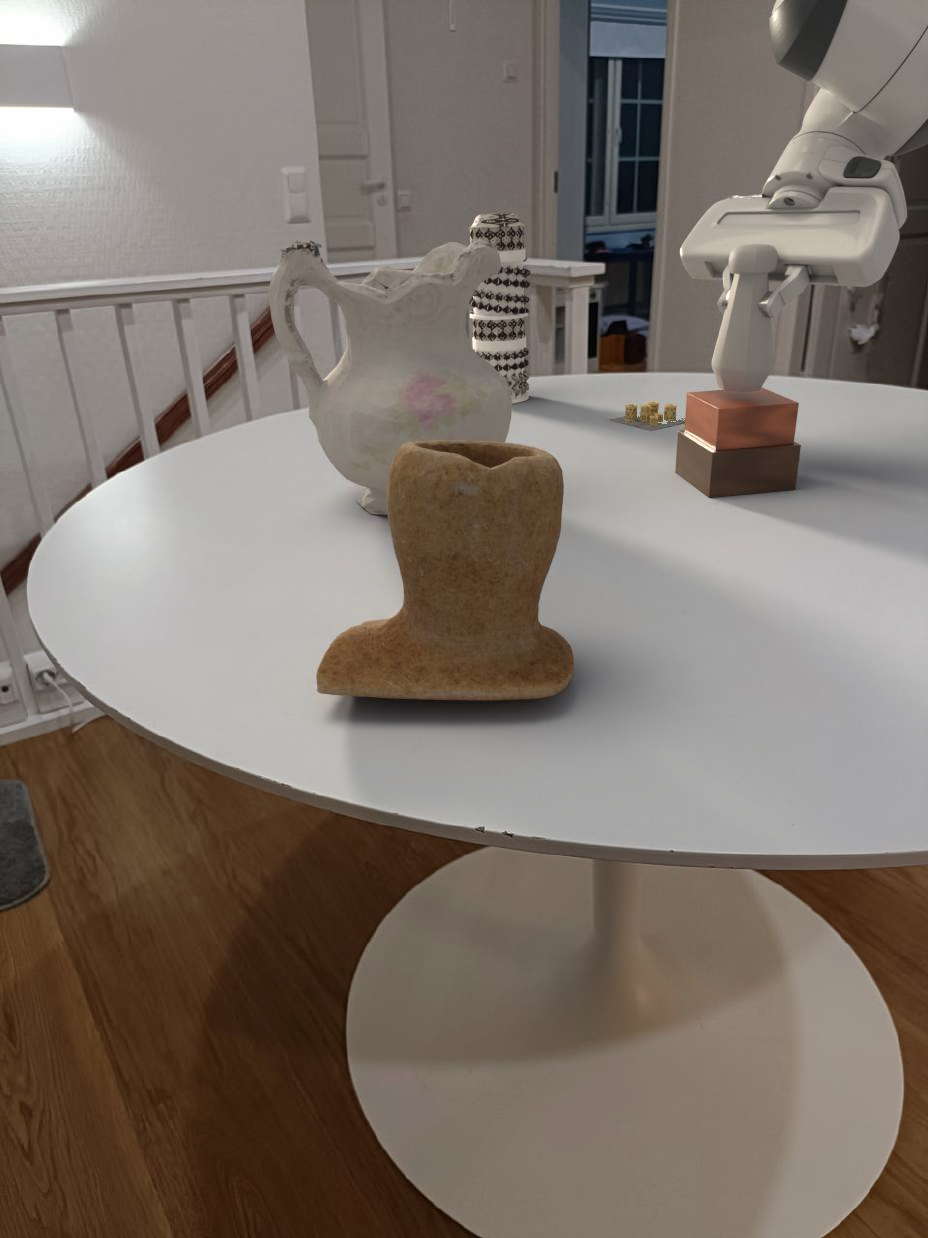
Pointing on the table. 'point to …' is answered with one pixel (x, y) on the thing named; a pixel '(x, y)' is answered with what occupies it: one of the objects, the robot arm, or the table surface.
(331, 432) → the ceramic pitcher
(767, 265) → the salt shaker
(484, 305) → the white patterned cylinder
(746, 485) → the block stack
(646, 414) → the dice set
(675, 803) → the table surface
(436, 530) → the stone cup
